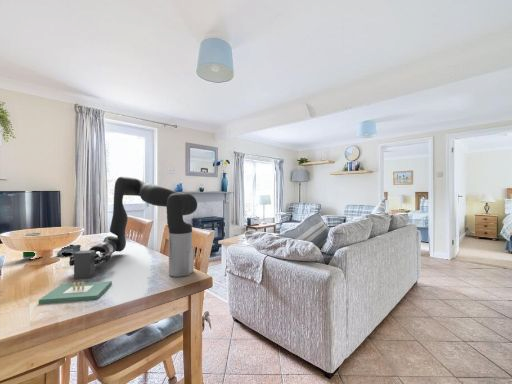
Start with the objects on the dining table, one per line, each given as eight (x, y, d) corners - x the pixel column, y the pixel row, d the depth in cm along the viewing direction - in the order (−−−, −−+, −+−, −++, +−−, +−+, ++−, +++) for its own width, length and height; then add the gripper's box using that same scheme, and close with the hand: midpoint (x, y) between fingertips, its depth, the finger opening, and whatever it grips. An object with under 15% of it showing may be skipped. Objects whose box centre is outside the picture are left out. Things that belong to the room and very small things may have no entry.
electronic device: (59, 254, 132) (55, 257, 120) (61, 244, 133) (57, 246, 121) (80, 254, 137) (78, 257, 125) (81, 244, 138) (80, 246, 126)
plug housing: (94, 274, 98) (94, 250, 97) (90, 278, 94) (90, 252, 93) (79, 275, 96) (79, 250, 96) (74, 279, 92) (73, 253, 92)
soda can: (42, 258, 118) (42, 234, 118) (21, 261, 114) (21, 236, 114) (44, 255, 124) (44, 232, 124) (24, 257, 120) (24, 233, 120)
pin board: (111, 284, 88) (111, 274, 88) (97, 299, 76) (97, 287, 76) (61, 287, 85) (61, 277, 85) (38, 303, 73) (38, 291, 73)
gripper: (83, 244, 108) (62, 254, 92) (118, 243, 111) (103, 252, 95) (83, 260, 108) (62, 273, 92) (118, 259, 111) (103, 271, 95)
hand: (83, 262), depth 94 cm, fingers open, 8 cm apart
